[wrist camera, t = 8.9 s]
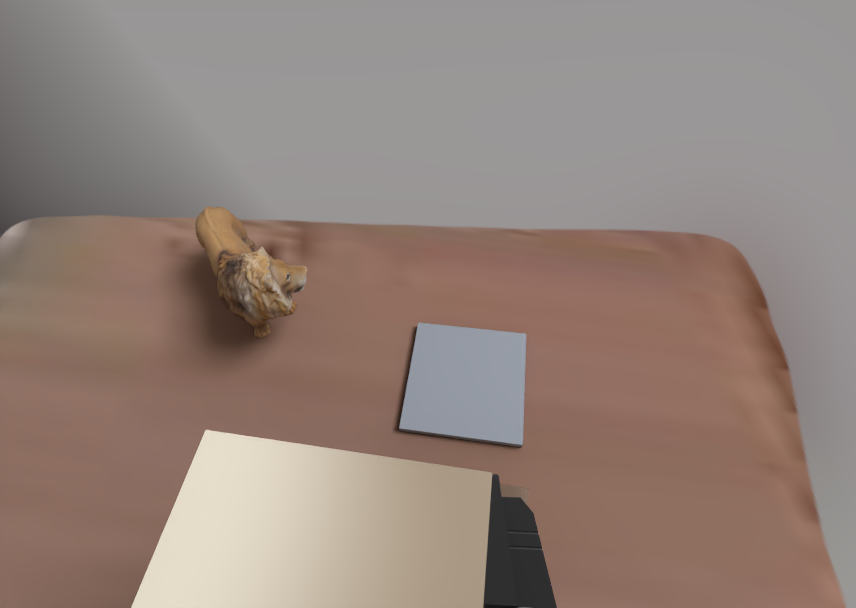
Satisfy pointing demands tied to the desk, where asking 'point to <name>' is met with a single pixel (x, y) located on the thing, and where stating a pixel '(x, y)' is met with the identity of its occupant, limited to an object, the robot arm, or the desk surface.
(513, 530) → the robot arm
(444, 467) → the birch peg
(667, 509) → the desk surface
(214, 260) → the lion figurine
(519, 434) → the slate mat
